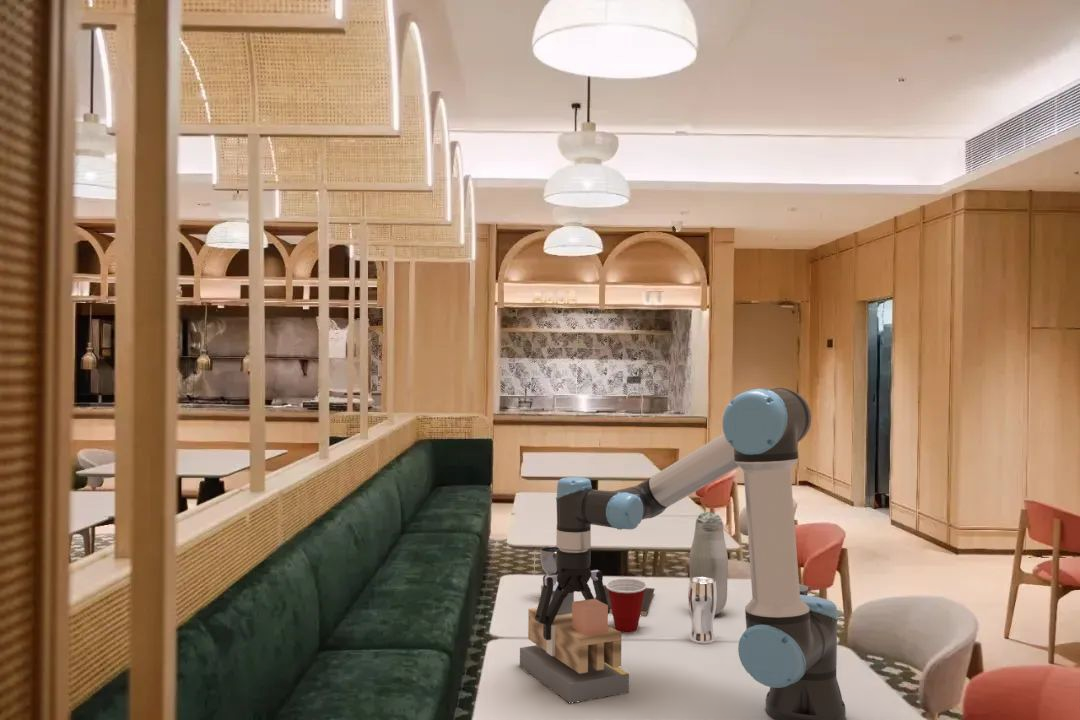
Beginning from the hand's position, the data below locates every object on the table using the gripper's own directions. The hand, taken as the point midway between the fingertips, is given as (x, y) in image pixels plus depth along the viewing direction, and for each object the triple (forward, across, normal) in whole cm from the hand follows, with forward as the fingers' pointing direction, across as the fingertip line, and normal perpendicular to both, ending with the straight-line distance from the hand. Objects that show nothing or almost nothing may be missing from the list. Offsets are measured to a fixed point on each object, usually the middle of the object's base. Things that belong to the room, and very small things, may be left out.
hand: (572, 650), depth 187 cm
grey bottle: (+6, -57, -26) cm, 63 cm away
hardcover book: (+7, -41, -45) cm, 61 cm away
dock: (+6, 0, 0) cm, 6 cm away
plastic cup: (+6, -29, -24) cm, 38 cm away
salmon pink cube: (-7, 0, +8) cm, 10 cm away
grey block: (-7, 0, -7) cm, 10 cm away
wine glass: (+6, -24, -55) cm, 60 cm away
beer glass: (+6, -42, -9) cm, 43 cm away
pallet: (0, 0, 0) cm, 0 cm away
